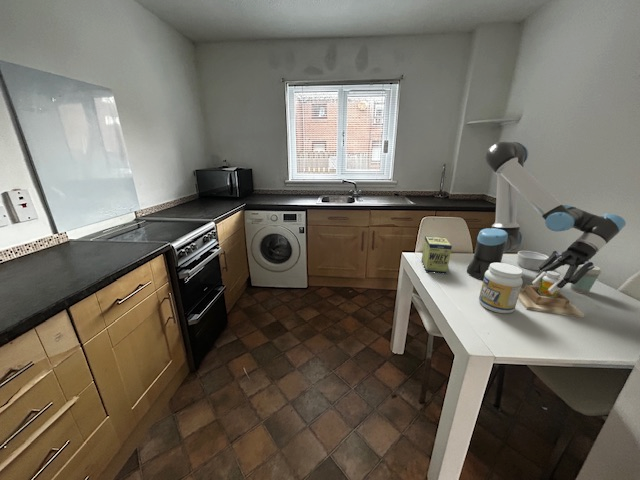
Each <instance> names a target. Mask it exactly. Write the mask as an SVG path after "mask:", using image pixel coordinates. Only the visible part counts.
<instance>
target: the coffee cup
mask: <svg viewBox="0 0 640 480" xmlns="http://www.w3.org/2000/svg"><path fill="white" fill-rule="evenodd" d="M583 265H584V264H582V265H579V266H578V268H577V270H576V271H575V272H574V274H575V273H576V272H577V271H578V270H579V269H580V268H581V267H582V266H583ZM574 274H573V275H574ZM601 274H602V271H601V268H600V267H598V266H596V265H594V268H593V269H591V270H589V271H588V272H587V273H586V274H585V275H584V276H583V277H582V278H581V279H580V280H579V281H578V282H577V283H576V284H572V283H570V290H572V291H573V292H576V293H579V294H585V295H586V294H589V293H590V290H591V289H592V287H593V286H594V284H595V283H596V280H597V279H598V277H599V276H600V275H601Z"/></svg>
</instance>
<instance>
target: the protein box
mask: <svg viewBox="0 0 640 480" xmlns="http://www.w3.org/2000/svg"><path fill="white" fill-rule="evenodd" d="M423 241H424V242H423V249H422V256H421V263H423V264H422V266H423V265H424V267H423V269H424V268H425V269H424V271H427V272H426V273H429V272H435V273H434V274H439V273H444V274H443V275H447V274H448V268H449V264H450V263H449V262H450V257H451V253H452V247H453V246H452V245H451V243H450V242H449V241H448V239H447V238H446V237H443V236H432V235H431V236H429V235H426V236H424V240H423Z"/></svg>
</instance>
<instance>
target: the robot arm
mask: <svg viewBox="0 0 640 480" xmlns="http://www.w3.org/2000/svg"><path fill="white" fill-rule="evenodd" d="M528 156H529V149H528V148H527V146H526V145H524V144H523V143H520V142H516V141H498V142H495V143H493V144H492V145H491V146H489V147H488V149H487V150H486V152H485V156H484V159H485V163H486V165H488V167H489V168H490V169H491V170H492V171H493V173H494V174H495V175H496V176H497V181H496V201H495V203H496V204H495V221H494V223H493V224H491V228H487V227H486V228H483V229H481V230H480V231H479V233H478V236H477V238H476V239H477V240H476V245H475V249H474V253H473V254H474V255H473V258H472V260H471V262H470V263H469V265H468V266H467V267H466V273H467V274H468V275H469V276H471V277H473V278H474V279H478V280H480V281H481V280H482V281H483V279H484V275H485V272H486V271H487V270H489V266H490V264H491V263H502V260H503V256H504V253H508V252H511V251H515V250H516V249H518V248H519V247H520V246H521V245H522V243H523V241H524V237H523V233H522V232H521V230H520V229H521V228H520V227H521V226H520V224H519V223H518V222H517V214H518V195H520V196H521V197H522V198H523V199H524V200H525V201H526V202H527V203H528V204H529V206H531V207H532V208H533V209H534V210H535V211H536V212H537V213H538V214H539V215H540V217H542V218H543V219H544V220H545V221H544V222H545V226H546V228H547V229H548V230H550V231H553V232H565V231H568V230H571V229H573V228H574V229H575V230H578V231H580V232H583V233H582V234H581V235H580V236H578V238H576V239H575V241H574V242H572V243H571V244H570V245H569V246H568V247H567V248H566V250H565V251H562V252H558V251H557V250H553V252H552V253H551V255H550V256H548V257H549V258H548V259H547V260H545V261H544V262H543V263H542V264H541V265H540V266H539V269H540V270H539V271H540V272H538V274H537V275H536V276H535V277H536V278H535V279H534V280H533V281H532V282H531V283H532V285H533V286H535V287H537V286H540V285H541V281H542V278H543V277H544V276H546V273H547V271H555V270H557V269H559V268H560V267H562V266H566V265H567V266H568V265H569V267H568V268H567V270H566V273H565V274H564V275H563V277H562V278H561V277H559V278H558V280H557V281H556V282H555V283H554V284H553V285H552V286H551V287H550V288H549V289H548V291H549V293H550V294H553V293H554V292H555V291H556V290H557V289H558V290H559V289H560V290H561V289H563V288H564V287H565V286H566V285H567V284H571V283H572V284H576V283H577V282H578V281H579V280H580V279H581V278H582V277H583V276H584V275H585V274H586V273H587V272H588V271H589V270H591V269H593V268H594V266H595V265H594V263H593V261H590V260H591V259H592V258H594V256H595V255H597V253H599V251H600V250H601V249H602V248H604V247H605V246H606V245H608V243H609V242H610V241H611V240H612V239H614V237H616V236H617V235H618V234H619V233H620V231H622V229H624V227H625V226H626V223H627V222H626V220H625V219H624V217H622V216H620V215H618V214H616V213H612V214H611V213H609V212H608V213H607V212H606V213H604V214H602V215H597V214H594V213H591V212H588V211H586V210H583V209H581V208H579V207H578V208H577V207H576V206H571V205H569V204H562V202H561V201H559V200H558V199H557V198H556V197H555V196H554V195H553V194H552V193H551V192H550V191H549V190H548V189H547V188H545V186H543V184H541V183H540V182H539V181H538V180H537V179H536V178H535V177H534V176H533V175H532V174H531V173H530V172H529V171H528V170H526V168H525V167H524V163H526V161H527V160H528V159H529V157H528ZM582 264H584V265H583V266H582V267H581V268H580V269H579V270H578V271H577V272H576V273H575V274H574V272H575V271H576V270H577V268H578V266H579V265H582ZM573 274H574V275H573ZM558 290H557V291H558Z"/></svg>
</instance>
